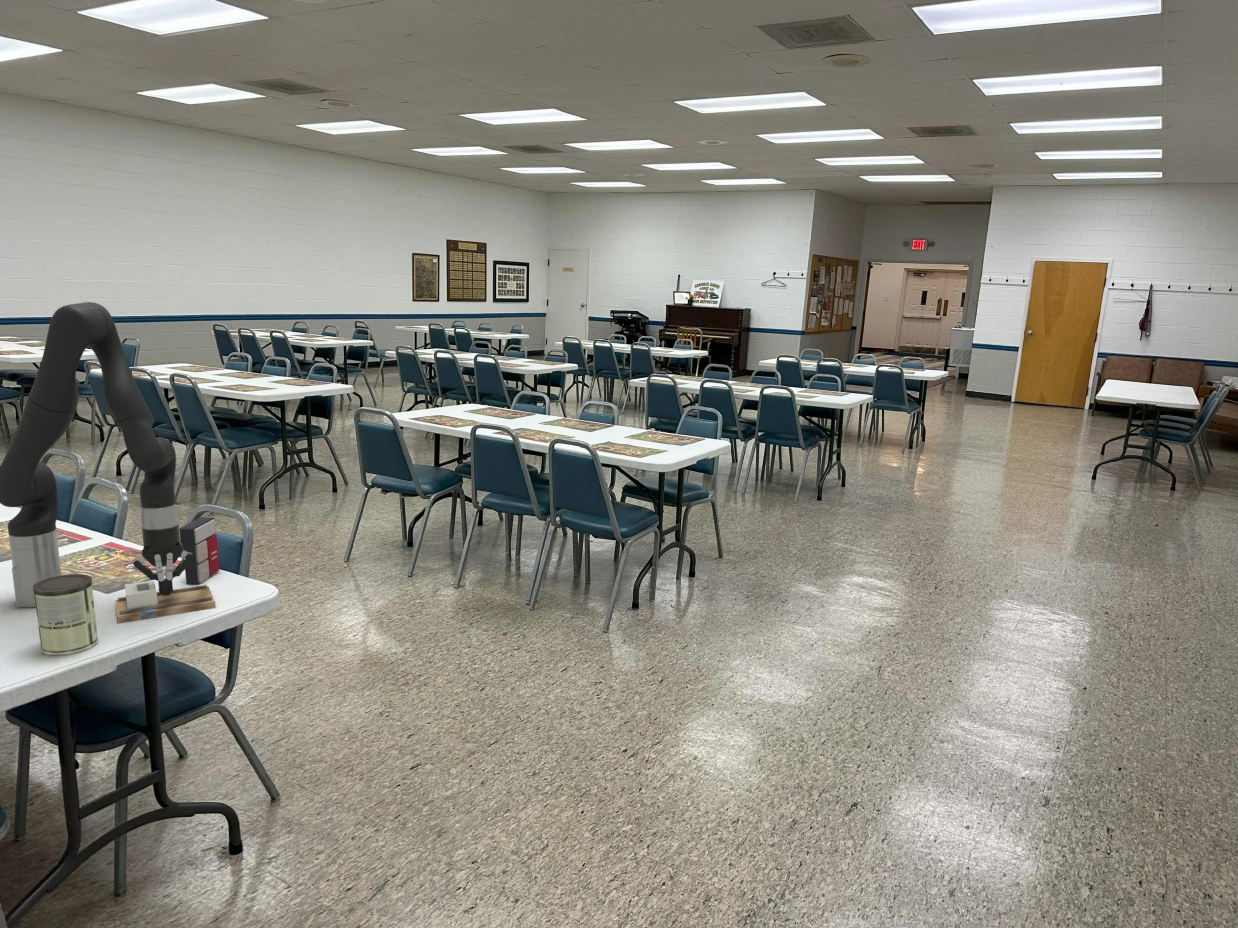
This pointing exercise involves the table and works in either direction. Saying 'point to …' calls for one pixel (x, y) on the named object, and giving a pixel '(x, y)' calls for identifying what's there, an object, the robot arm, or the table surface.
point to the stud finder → (141, 594)
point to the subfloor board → (168, 604)
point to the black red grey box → (200, 549)
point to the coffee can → (65, 614)
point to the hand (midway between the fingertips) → (166, 594)
